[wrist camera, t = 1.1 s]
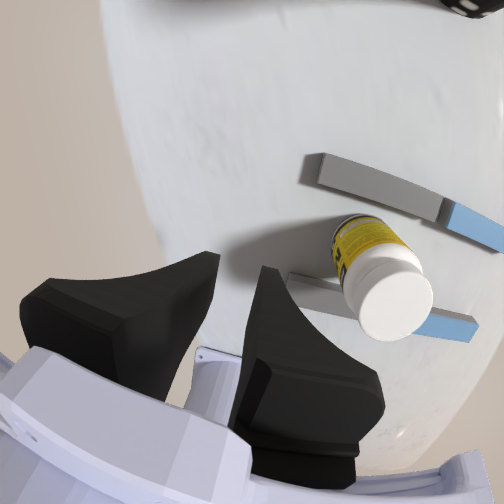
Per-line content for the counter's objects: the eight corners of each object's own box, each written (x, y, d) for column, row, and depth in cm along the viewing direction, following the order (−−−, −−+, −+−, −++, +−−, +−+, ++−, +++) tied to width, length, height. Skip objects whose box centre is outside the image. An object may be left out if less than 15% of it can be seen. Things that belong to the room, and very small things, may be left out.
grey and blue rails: (462, 332, 21) (468, 342, 19) (282, 294, 22) (281, 305, 20) (511, 231, 17) (521, 237, 15) (323, 152, 17) (326, 153, 16)
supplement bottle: (318, 231, 19) (334, 292, 12) (376, 201, 18) (428, 244, 10) (345, 284, 21) (367, 360, 13) (399, 257, 19) (446, 321, 12)
